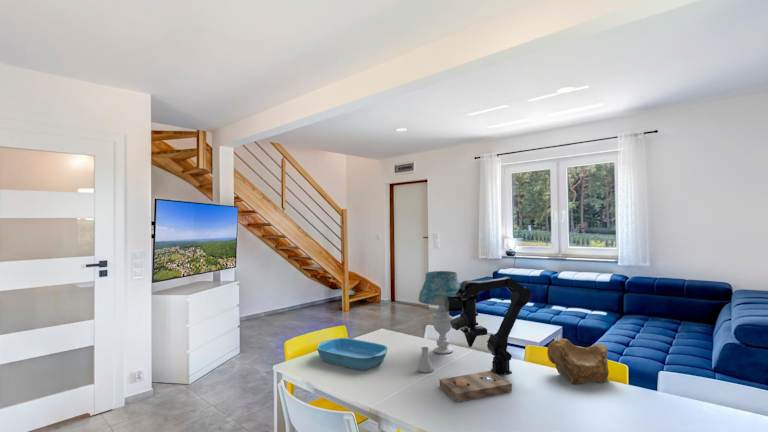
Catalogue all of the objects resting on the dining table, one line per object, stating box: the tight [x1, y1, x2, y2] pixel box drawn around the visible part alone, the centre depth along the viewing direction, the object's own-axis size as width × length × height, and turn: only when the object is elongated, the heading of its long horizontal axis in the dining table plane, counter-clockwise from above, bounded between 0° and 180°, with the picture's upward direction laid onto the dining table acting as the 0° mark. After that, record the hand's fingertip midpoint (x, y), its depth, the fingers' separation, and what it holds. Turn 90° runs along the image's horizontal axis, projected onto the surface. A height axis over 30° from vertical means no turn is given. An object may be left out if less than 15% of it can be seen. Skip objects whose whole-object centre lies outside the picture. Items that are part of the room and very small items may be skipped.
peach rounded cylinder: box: [456, 378, 467, 387], centre depth 148 cm, size 4×4×3 cm
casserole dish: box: [316, 337, 389, 371], centre depth 185 cm, size 37×22×7 cm, turn 58°
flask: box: [417, 346, 434, 374], centre depth 170 cm, size 7×7×10 cm
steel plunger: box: [482, 376, 494, 383], centre depth 152 cm, size 4×4×3 cm
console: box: [438, 370, 513, 402], centre depth 150 cm, size 24×14×3 cm, turn 108°
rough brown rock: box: [547, 338, 610, 385], centre depth 156 cm, size 23×17×15 cm
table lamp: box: [418, 270, 464, 355], centre depth 196 cm, size 24×24×40 cm
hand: (470, 346), depth 164 cm, fingers closed
